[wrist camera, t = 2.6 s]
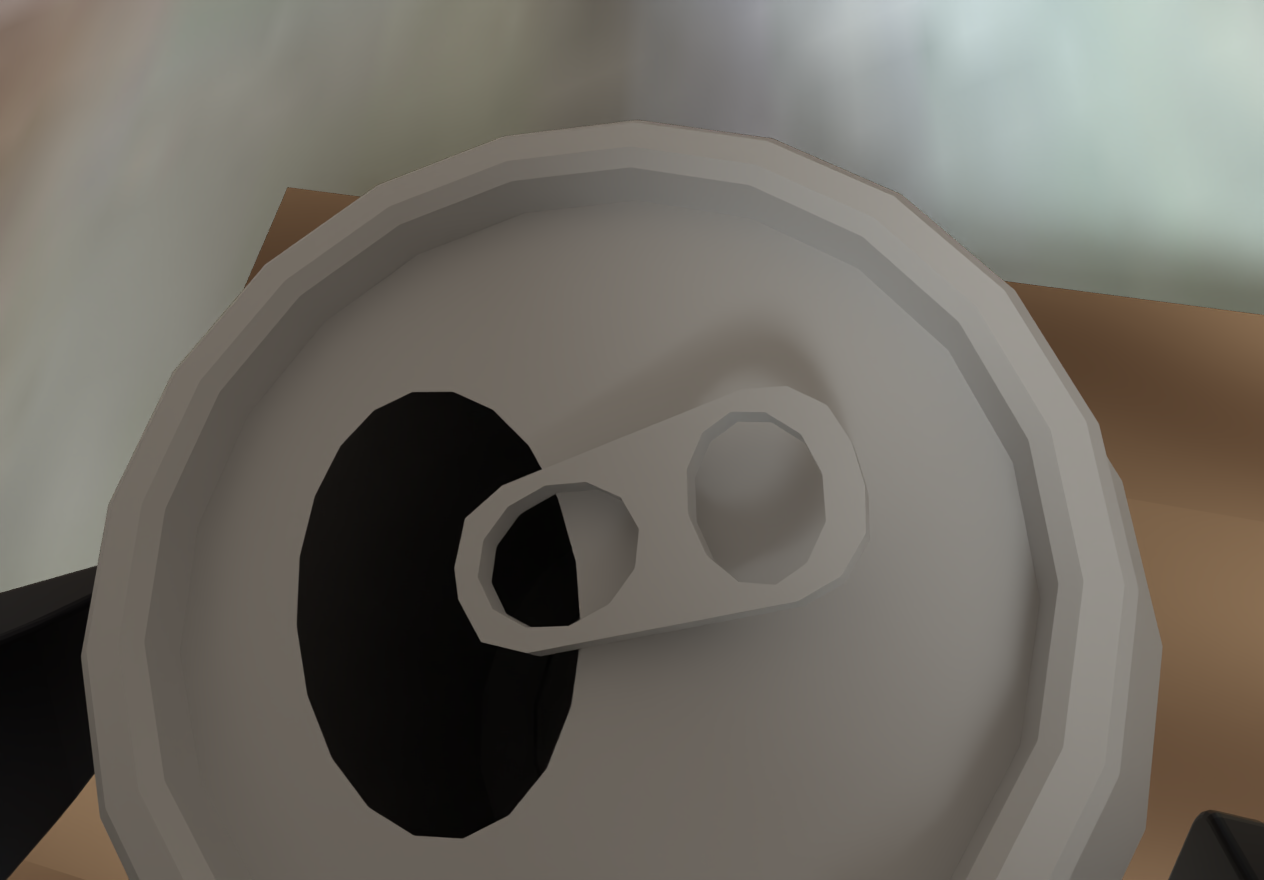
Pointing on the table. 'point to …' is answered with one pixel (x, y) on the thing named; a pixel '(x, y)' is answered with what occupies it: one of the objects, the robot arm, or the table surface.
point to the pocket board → (1162, 519)
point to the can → (622, 547)
